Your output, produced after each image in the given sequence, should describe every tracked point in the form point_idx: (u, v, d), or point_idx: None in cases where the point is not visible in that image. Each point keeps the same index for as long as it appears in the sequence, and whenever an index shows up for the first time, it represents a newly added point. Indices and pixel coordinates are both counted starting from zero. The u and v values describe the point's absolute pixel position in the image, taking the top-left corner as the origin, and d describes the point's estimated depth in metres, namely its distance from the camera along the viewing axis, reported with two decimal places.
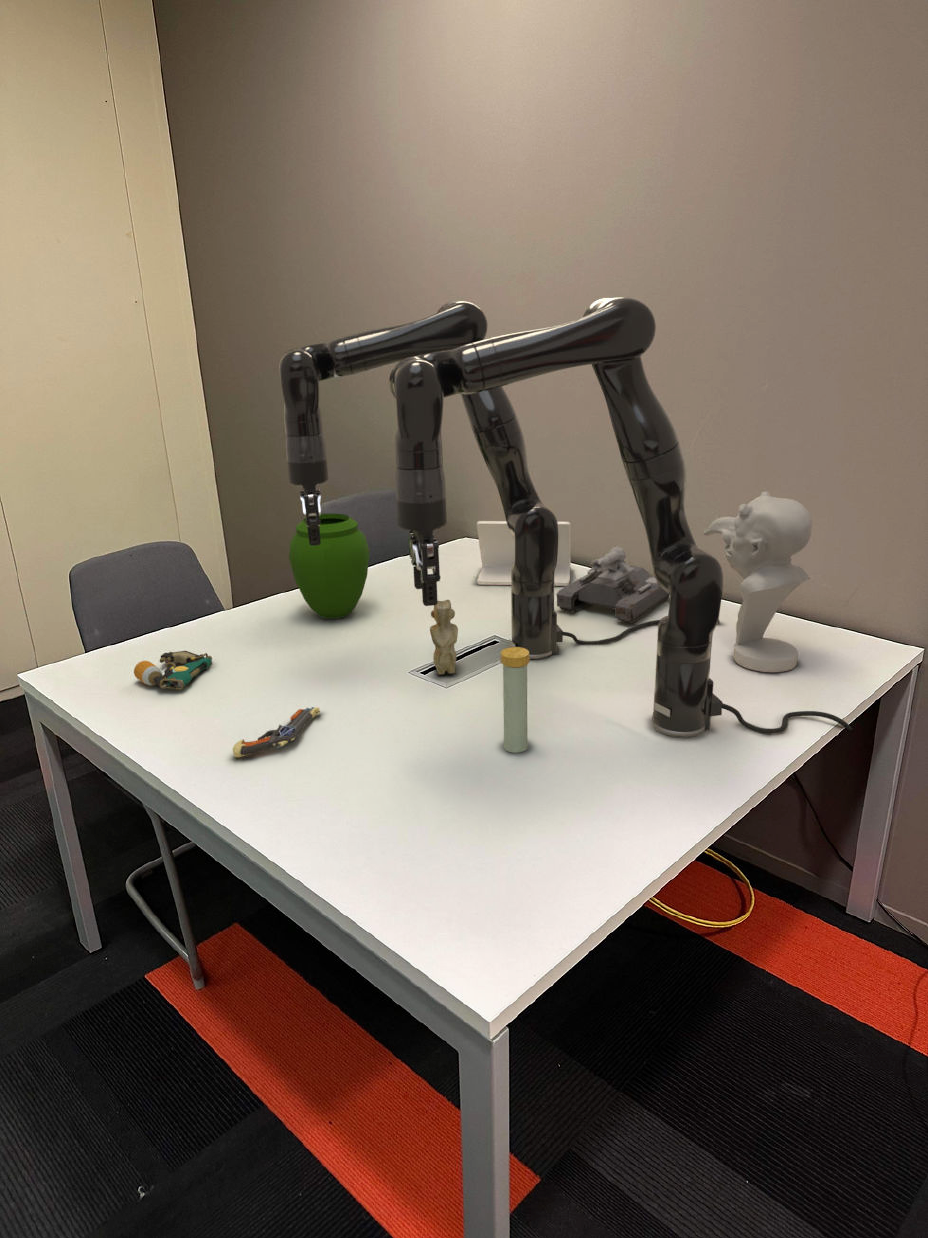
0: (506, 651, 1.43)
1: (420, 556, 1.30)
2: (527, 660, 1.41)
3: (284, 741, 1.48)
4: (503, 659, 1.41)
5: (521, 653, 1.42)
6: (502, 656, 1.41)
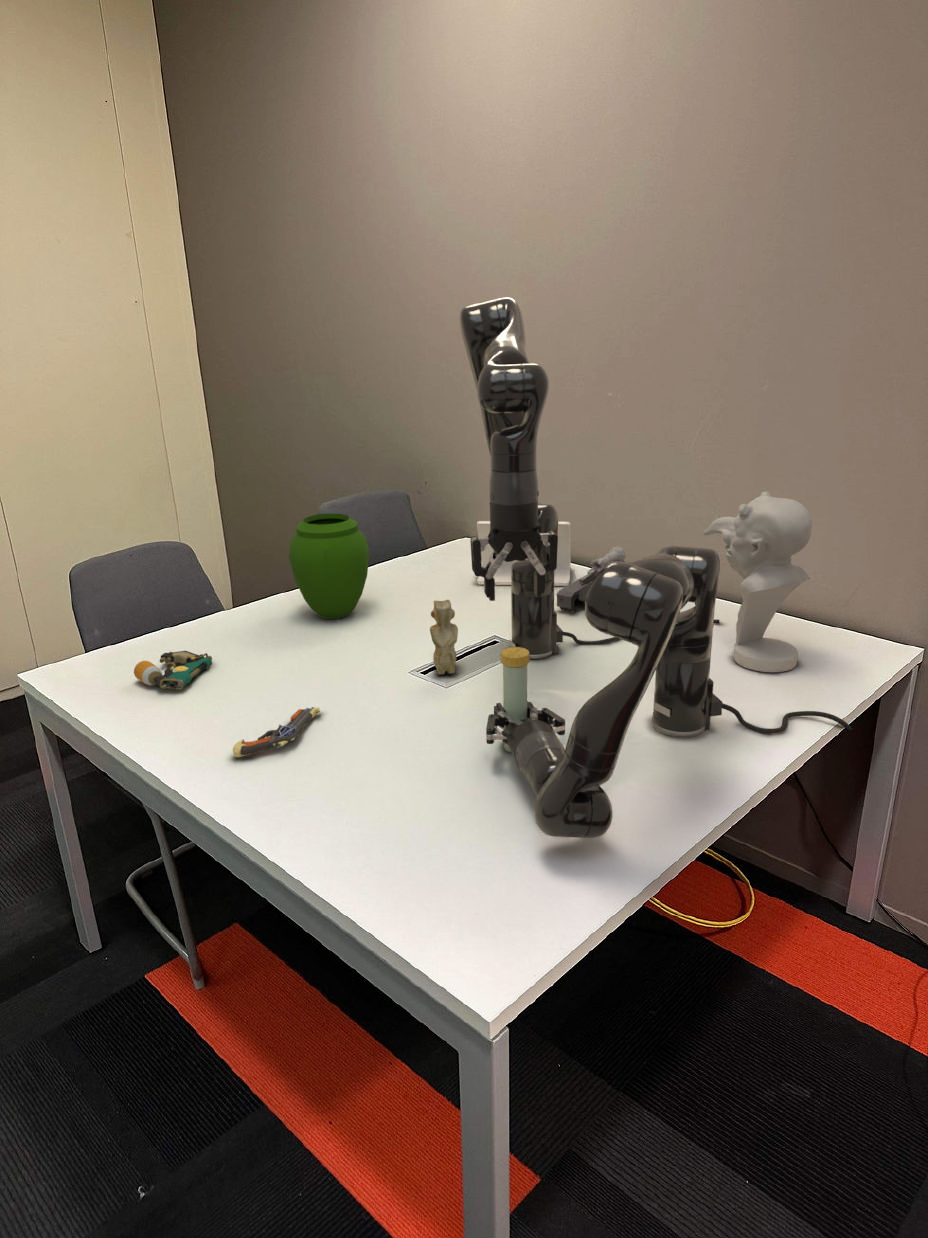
0: (506, 651, 1.43)
1: None
2: (527, 660, 1.41)
3: (284, 741, 1.48)
4: (503, 659, 1.41)
5: (521, 653, 1.42)
6: (502, 656, 1.41)
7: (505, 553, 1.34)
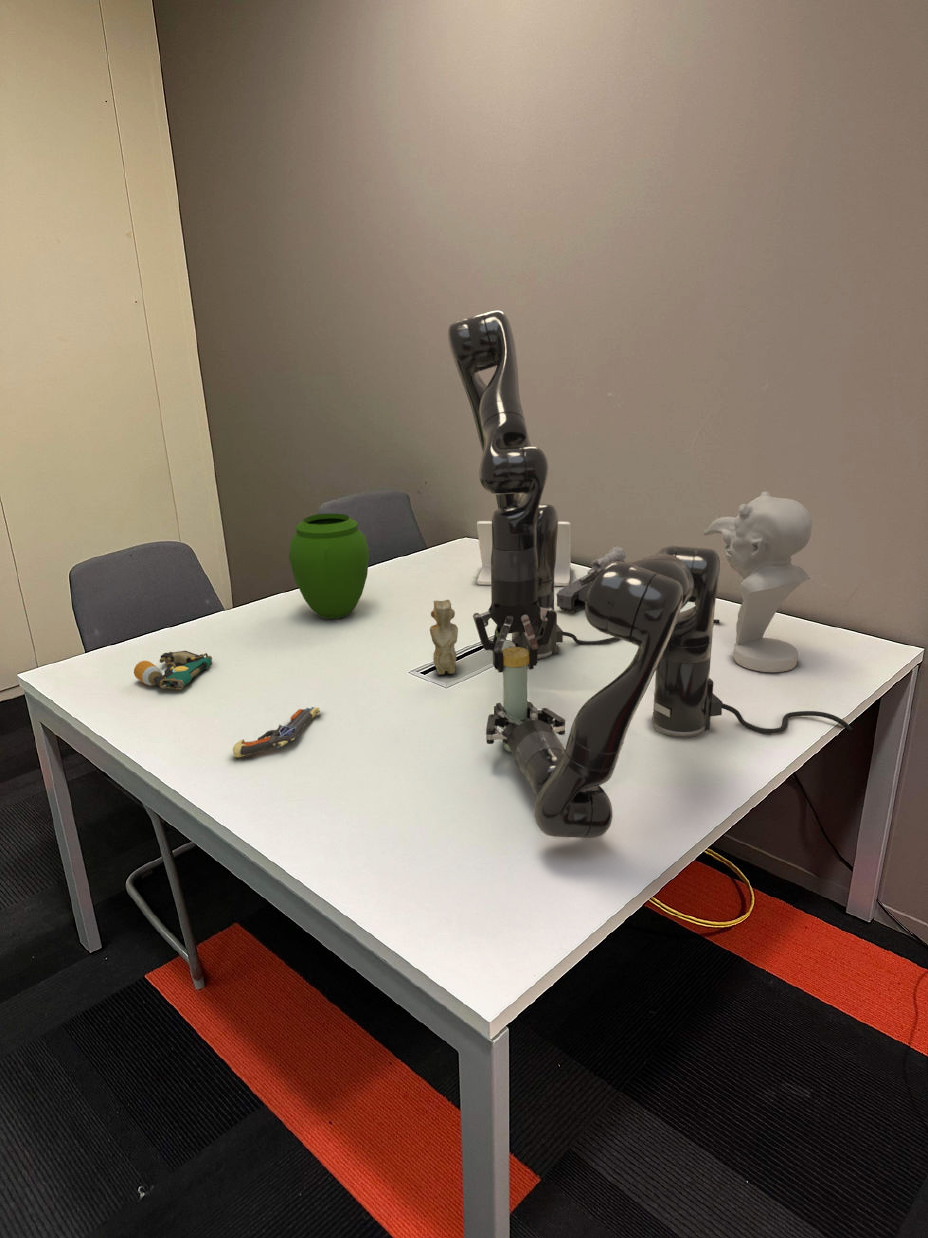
0: (506, 651, 1.43)
1: None
2: (527, 660, 1.41)
3: (284, 741, 1.48)
4: (503, 659, 1.41)
5: (521, 653, 1.42)
6: None
7: (506, 626, 1.38)
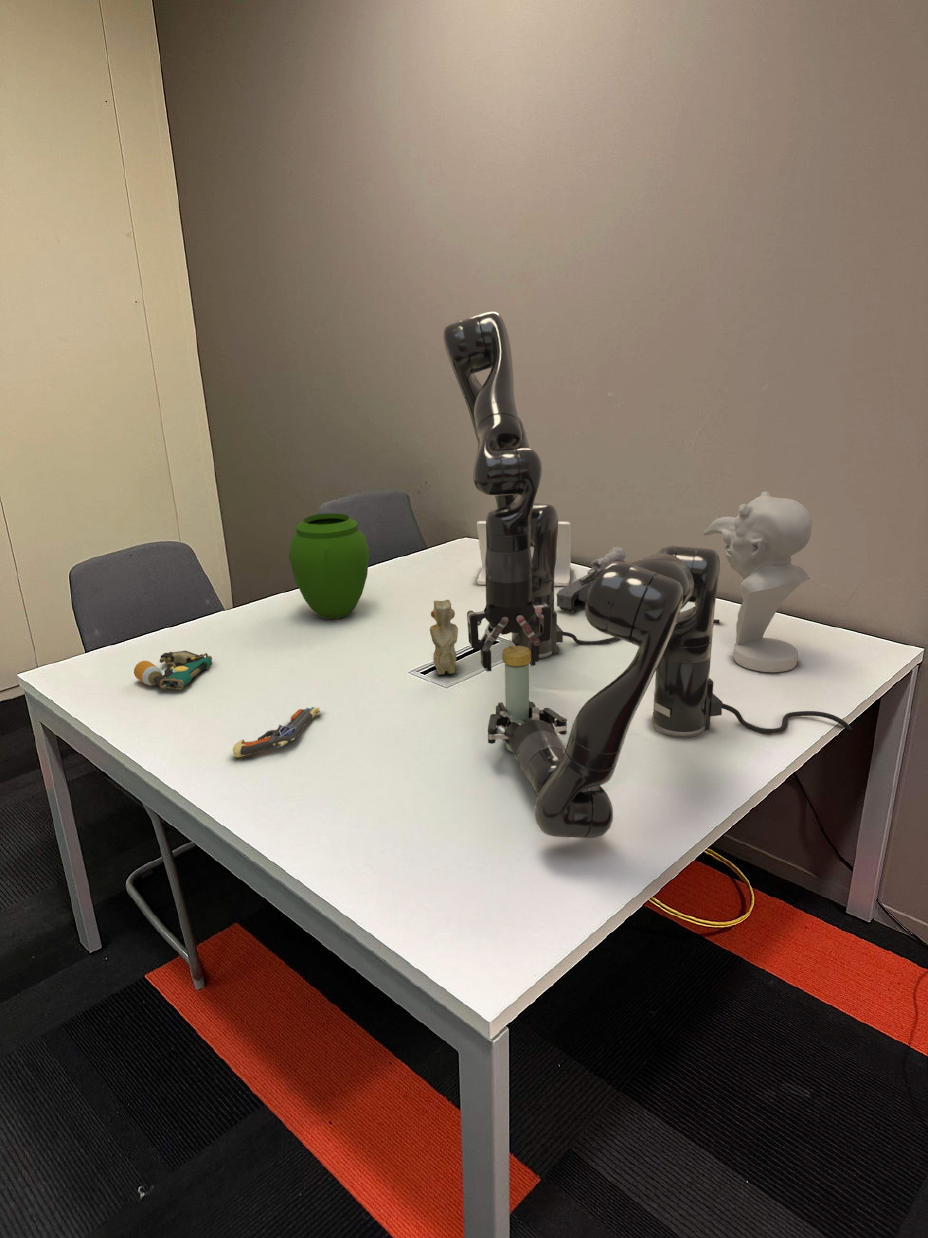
0: (510, 653, 1.41)
1: None
2: None
3: (284, 741, 1.48)
4: (519, 660, 1.40)
5: (522, 649, 1.43)
6: (516, 658, 1.40)
7: (501, 627, 1.39)
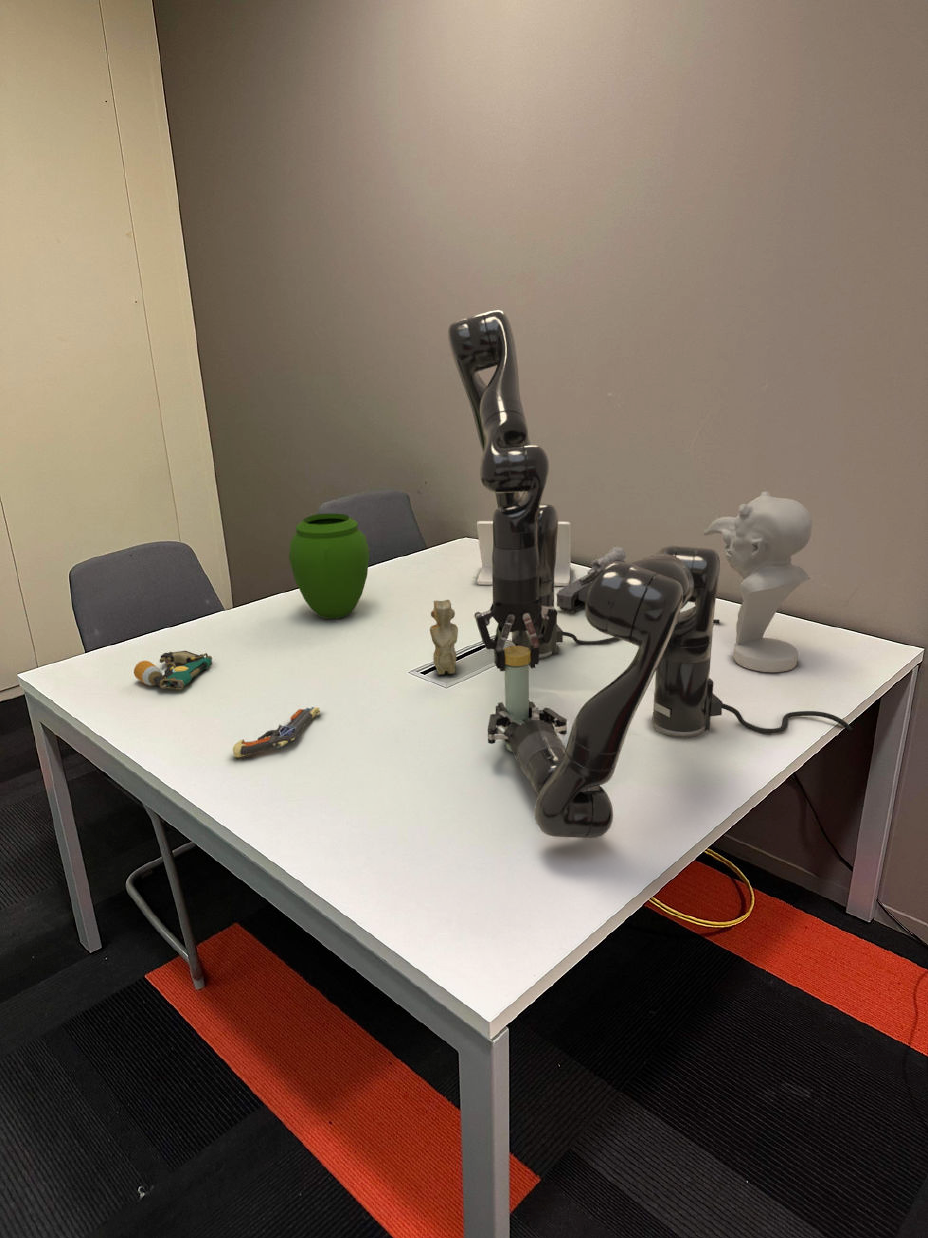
0: (510, 653, 1.41)
1: None
2: None
3: (284, 741, 1.48)
4: (518, 660, 1.40)
5: (522, 649, 1.43)
6: (516, 658, 1.40)
7: (507, 624, 1.38)
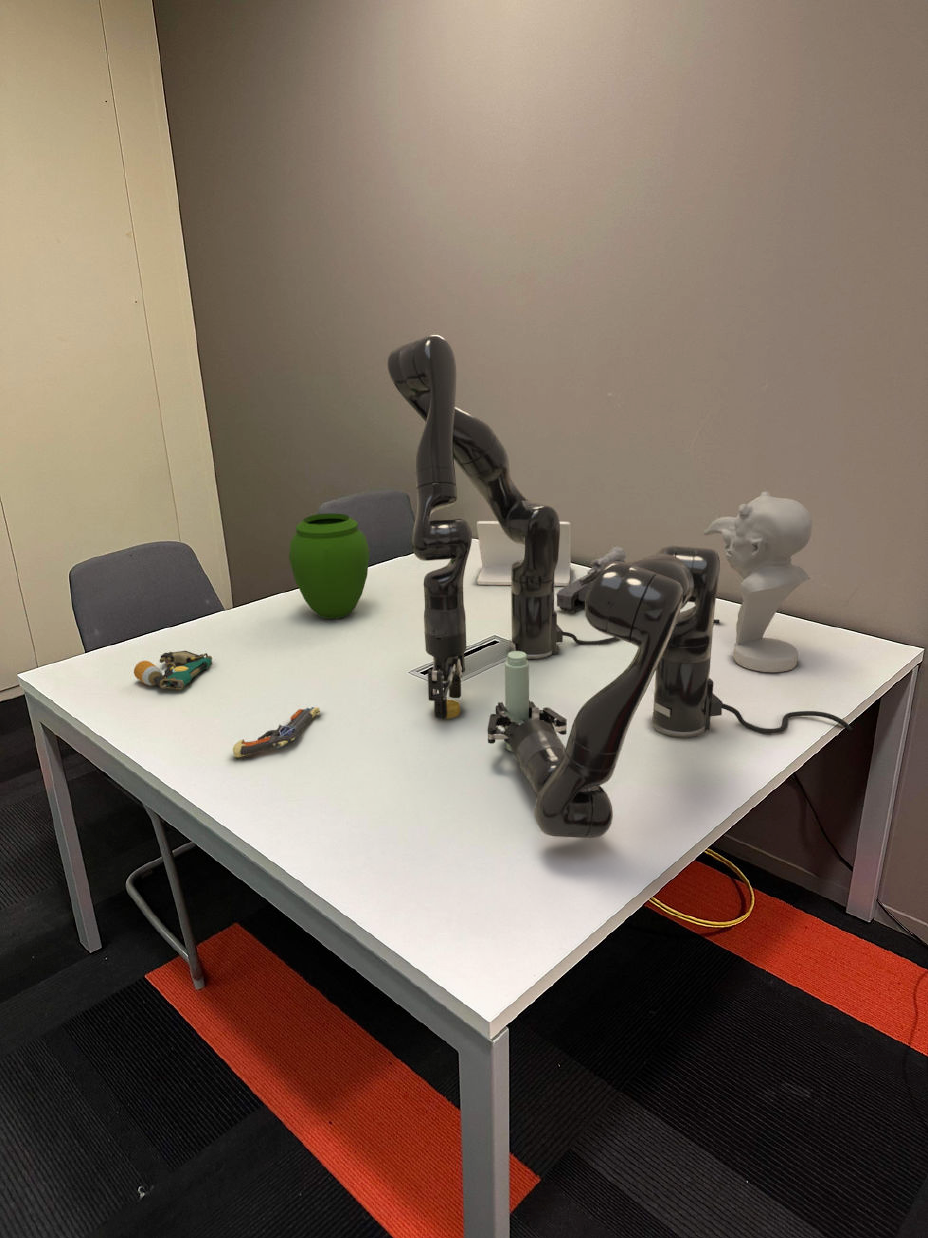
0: (449, 708, 1.59)
1: None
2: None
3: (284, 741, 1.48)
4: (458, 709, 1.60)
5: None
6: (457, 708, 1.60)
7: (452, 674, 1.56)
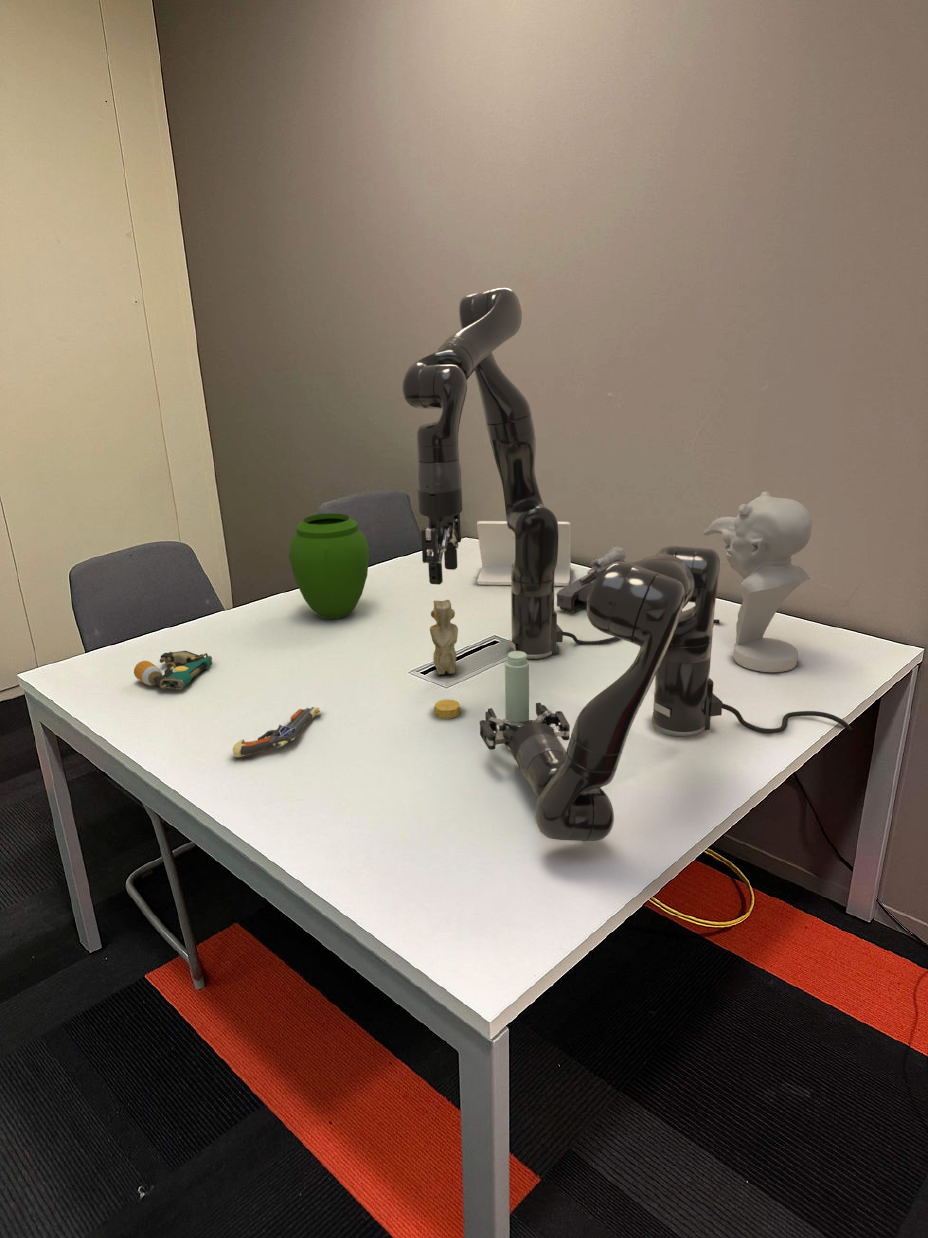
0: (449, 708, 1.59)
1: None
2: None
3: (284, 741, 1.48)
4: (458, 709, 1.60)
5: (446, 702, 1.62)
6: (457, 708, 1.60)
7: (448, 537, 1.47)
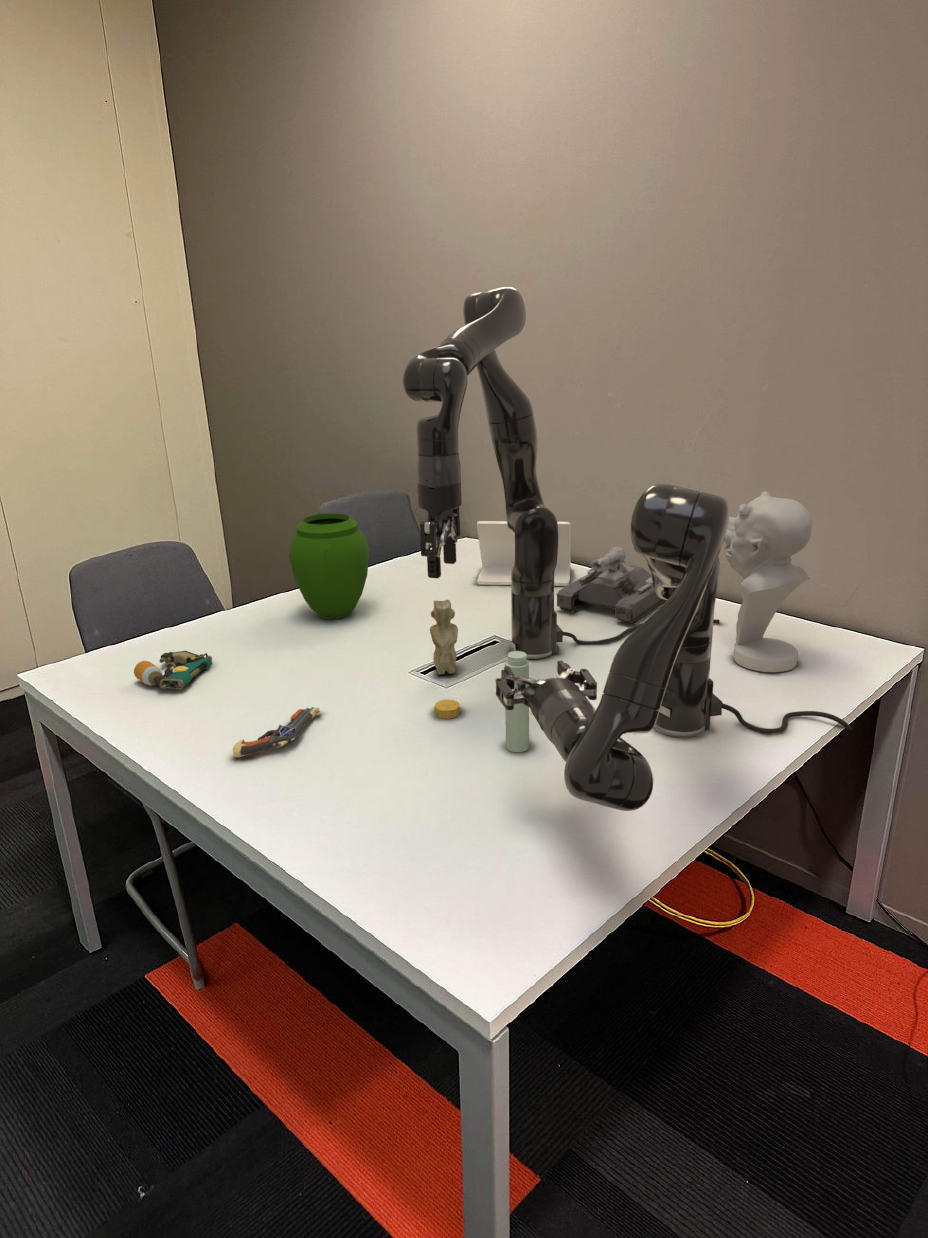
0: (449, 708, 1.59)
1: None
2: None
3: (284, 741, 1.48)
4: (458, 709, 1.60)
5: (446, 702, 1.62)
6: (457, 708, 1.60)
7: (446, 530, 1.46)
